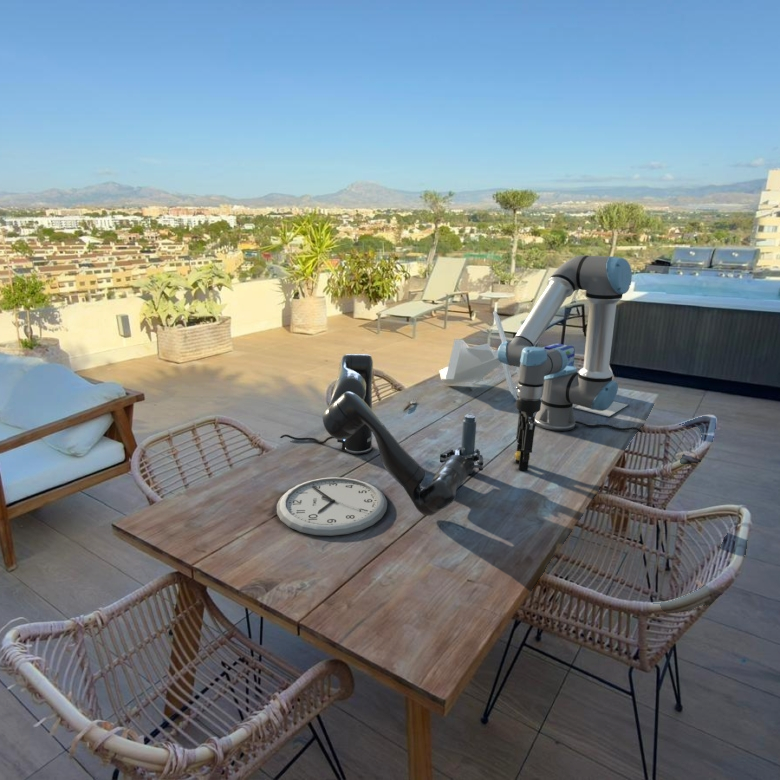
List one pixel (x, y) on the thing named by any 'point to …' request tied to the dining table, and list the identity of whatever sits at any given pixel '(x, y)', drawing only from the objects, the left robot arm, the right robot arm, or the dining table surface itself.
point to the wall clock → (331, 506)
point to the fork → (411, 403)
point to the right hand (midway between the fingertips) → (521, 466)
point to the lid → (518, 455)
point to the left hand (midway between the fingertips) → (469, 450)
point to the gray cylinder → (468, 436)
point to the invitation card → (609, 411)
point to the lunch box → (567, 349)
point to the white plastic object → (475, 362)
